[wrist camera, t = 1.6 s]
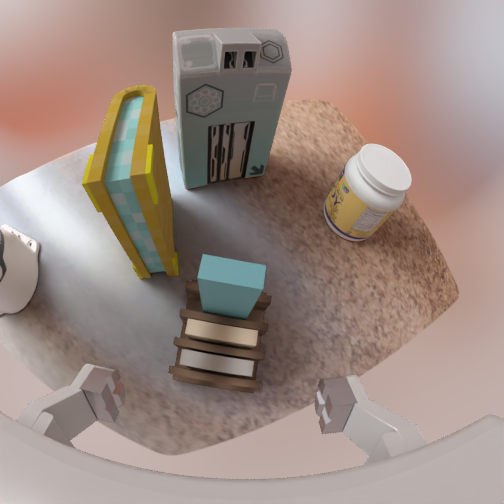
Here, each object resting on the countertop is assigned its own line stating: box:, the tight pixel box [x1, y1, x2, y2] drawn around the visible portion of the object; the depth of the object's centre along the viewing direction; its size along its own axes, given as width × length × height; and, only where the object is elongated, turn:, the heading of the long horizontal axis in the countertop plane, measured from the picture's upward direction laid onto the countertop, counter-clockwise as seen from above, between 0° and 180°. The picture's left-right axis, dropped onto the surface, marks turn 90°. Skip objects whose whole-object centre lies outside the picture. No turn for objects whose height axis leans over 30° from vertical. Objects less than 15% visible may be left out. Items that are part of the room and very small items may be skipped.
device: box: [173, 28, 291, 189], centre depth 42 cm, size 16×8×30 cm, turn 108°
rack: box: [168, 280, 271, 393], centre depth 38 cm, size 12×16×6 cm
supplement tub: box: [323, 144, 412, 241], centre depth 47 cm, size 12×12×17 cm
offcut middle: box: [185, 318, 258, 350], centre depth 36 cm, size 9×2×7 cm, turn 82°
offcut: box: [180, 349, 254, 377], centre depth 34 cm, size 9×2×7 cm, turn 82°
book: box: [82, 85, 179, 279], centre depth 36 cm, size 17×7×25 cm, turn 10°
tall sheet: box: [197, 254, 266, 320], centre depth 33 cm, size 6×2×18 cm, turn 82°
